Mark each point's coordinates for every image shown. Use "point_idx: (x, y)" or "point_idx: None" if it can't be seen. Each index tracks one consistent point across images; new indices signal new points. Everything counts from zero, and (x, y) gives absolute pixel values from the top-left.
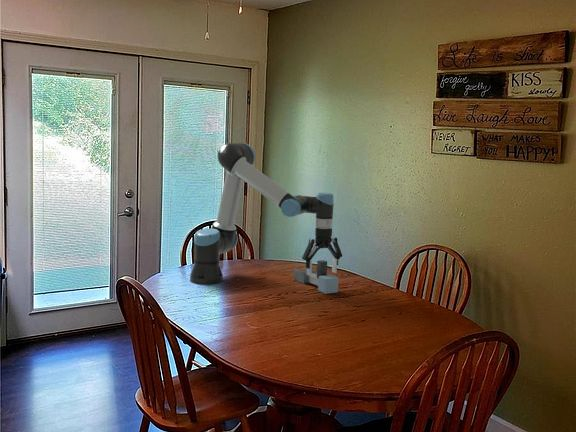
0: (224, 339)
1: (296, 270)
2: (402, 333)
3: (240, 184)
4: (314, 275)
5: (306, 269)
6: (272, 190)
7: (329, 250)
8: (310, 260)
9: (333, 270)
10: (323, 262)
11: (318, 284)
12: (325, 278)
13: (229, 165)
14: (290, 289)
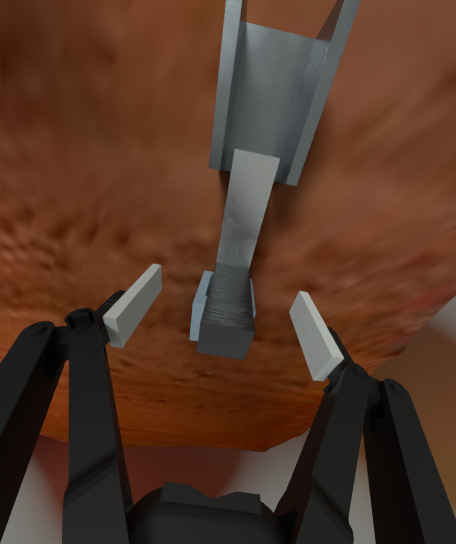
0: None
1: (225, 19)
2: (176, 429)
3: None
4: (240, 224)
5: (330, 34)
6: None
7: (323, 434)
8: (105, 351)
9: (297, 307)
10: (215, 351)
11: (200, 282)
12: (193, 334)
13: None
14: (122, 202)
